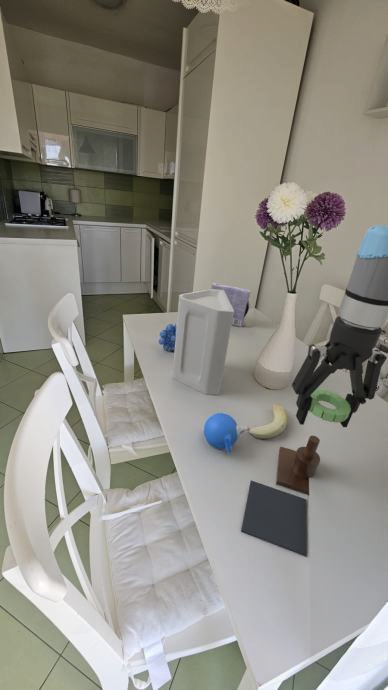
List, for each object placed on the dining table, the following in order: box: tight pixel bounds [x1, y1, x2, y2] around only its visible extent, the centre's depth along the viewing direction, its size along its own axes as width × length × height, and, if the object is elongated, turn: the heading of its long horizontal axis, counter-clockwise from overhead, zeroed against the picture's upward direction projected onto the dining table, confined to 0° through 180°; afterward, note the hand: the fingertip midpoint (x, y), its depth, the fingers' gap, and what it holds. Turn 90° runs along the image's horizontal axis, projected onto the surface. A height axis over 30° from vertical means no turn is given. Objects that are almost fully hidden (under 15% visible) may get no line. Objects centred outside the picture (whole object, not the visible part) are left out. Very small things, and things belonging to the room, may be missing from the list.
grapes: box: [158, 322, 177, 352], centre depth 115 cm, size 12×7×12 cm, turn 94°
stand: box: [275, 435, 321, 496], centre depth 69 cm, size 11×11×11 cm
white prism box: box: [172, 288, 234, 396], centre depth 96 cm, size 19×15×28 cm
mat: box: [240, 479, 307, 557], centre depth 62 cm, size 12×12×1 cm
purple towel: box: [210, 282, 251, 328], centre depth 144 cm, size 19×5×18 cm, turn 72°
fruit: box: [246, 403, 288, 440], centre depth 84 cm, size 7×15×3 cm, turn 138°
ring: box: [308, 388, 351, 423], centre depth 61 cm, size 8×8×2 cm
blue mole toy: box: [203, 412, 251, 454], centre depth 76 cm, size 12×12×8 cm
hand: (320, 421), depth 63 cm, fingers closed on ring, 8 cm apart
